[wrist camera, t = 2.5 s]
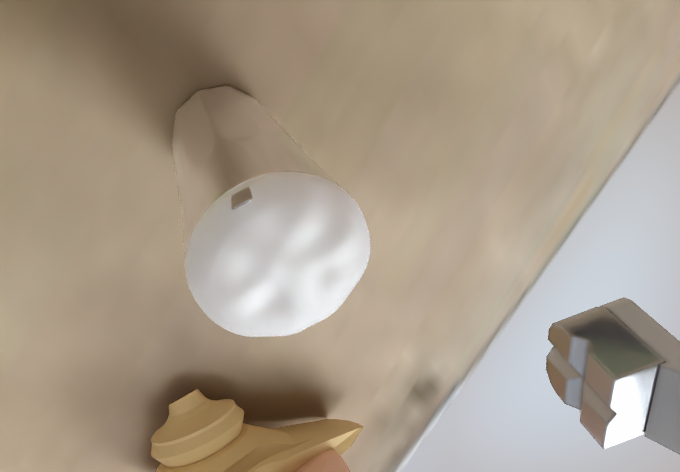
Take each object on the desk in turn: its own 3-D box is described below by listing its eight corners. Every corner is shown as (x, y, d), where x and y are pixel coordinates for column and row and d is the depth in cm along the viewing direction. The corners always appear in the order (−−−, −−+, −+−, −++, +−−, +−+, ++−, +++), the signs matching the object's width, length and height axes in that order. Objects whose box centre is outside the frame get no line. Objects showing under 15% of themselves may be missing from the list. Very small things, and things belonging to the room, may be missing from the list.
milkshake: (239, 17, 20) (347, 146, 12) (303, 152, 24) (422, 323, 16) (109, 84, 20) (135, 259, 12) (192, 211, 23) (255, 415, 15)
